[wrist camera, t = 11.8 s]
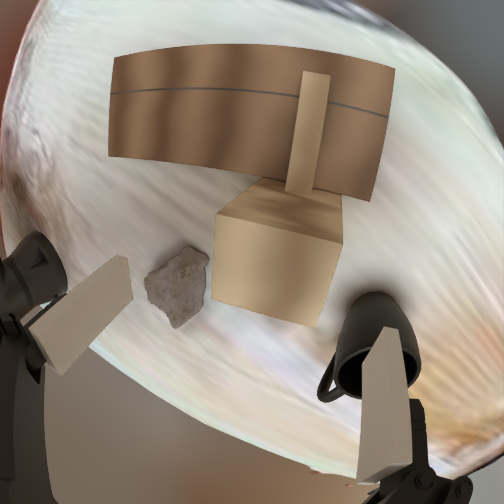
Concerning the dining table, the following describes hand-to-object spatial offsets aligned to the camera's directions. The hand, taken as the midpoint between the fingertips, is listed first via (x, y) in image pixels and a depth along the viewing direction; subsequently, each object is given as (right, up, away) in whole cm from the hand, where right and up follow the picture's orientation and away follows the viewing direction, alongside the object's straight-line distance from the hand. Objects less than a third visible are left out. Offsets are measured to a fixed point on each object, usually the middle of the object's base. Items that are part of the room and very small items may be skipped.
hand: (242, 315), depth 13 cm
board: (-2, +17, +10) cm, 20 cm away
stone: (-8, 0, +22) cm, 23 cm away
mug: (+13, -5, +17) cm, 22 cm away
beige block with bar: (+5, +11, +11) cm, 16 cm away
